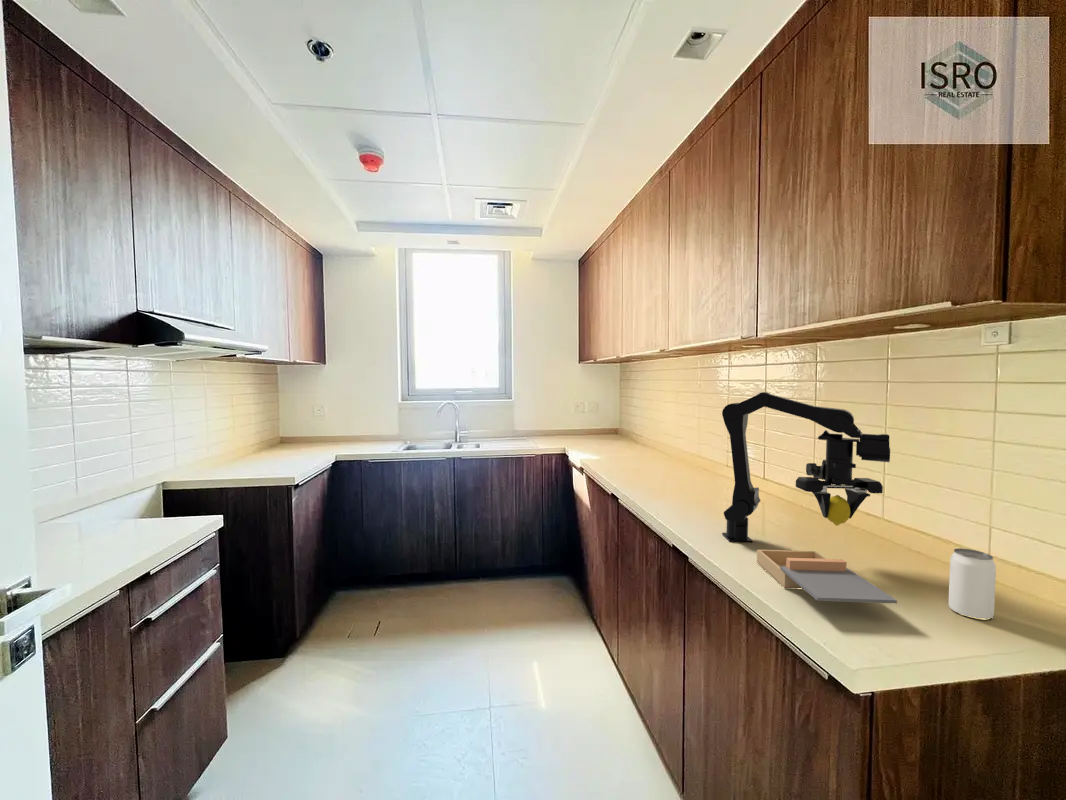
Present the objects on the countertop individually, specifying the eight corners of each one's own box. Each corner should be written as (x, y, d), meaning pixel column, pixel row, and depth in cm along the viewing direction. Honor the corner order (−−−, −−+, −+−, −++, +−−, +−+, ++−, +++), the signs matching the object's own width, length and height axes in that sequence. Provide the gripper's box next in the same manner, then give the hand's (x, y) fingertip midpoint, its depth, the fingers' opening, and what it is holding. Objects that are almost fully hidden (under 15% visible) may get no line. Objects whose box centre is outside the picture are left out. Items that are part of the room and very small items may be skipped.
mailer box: (756, 563, 113) (757, 549, 113) (814, 564, 112) (814, 551, 112) (784, 588, 99) (784, 573, 99) (850, 591, 98) (850, 575, 98)
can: (1000, 624, 85) (1003, 562, 84) (956, 616, 88) (958, 556, 87) (984, 609, 91) (986, 550, 90) (942, 602, 94) (945, 545, 93)
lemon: (831, 521, 120) (832, 491, 120) (854, 527, 115) (855, 496, 115) (819, 524, 117) (820, 493, 117) (842, 530, 113) (843, 498, 112)
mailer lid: (780, 568, 101) (780, 557, 100) (847, 570, 100) (848, 559, 100) (817, 600, 86) (817, 587, 86) (896, 603, 85) (897, 589, 85)
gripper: (856, 453, 123) (854, 509, 124) (786, 452, 124) (784, 508, 125) (885, 460, 112) (883, 522, 113) (808, 459, 113) (806, 520, 114)
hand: (836, 517), depth 116 cm, fingers closed on lemon, 5 cm apart
